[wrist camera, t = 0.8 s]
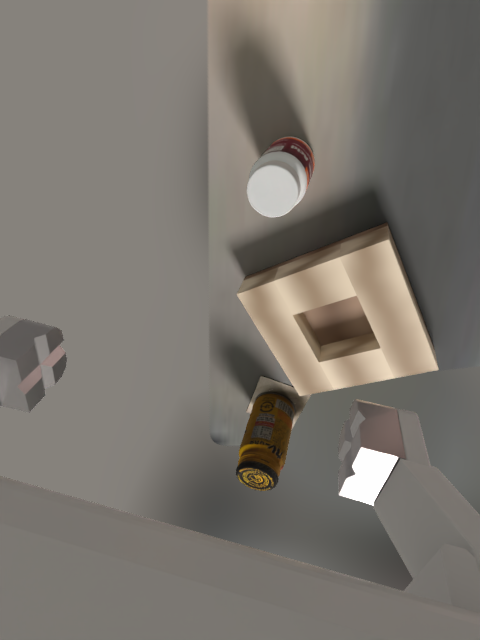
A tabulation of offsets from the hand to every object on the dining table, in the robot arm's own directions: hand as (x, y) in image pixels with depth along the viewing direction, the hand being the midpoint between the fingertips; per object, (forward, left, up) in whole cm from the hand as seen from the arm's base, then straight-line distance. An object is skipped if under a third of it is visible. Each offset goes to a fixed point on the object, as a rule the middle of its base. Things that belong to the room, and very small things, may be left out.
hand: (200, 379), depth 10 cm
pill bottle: (+3, +1, -30) cm, 31 cm away
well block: (+5, +18, -30) cm, 35 cm away
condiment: (+19, +30, -31) cm, 47 cm away
